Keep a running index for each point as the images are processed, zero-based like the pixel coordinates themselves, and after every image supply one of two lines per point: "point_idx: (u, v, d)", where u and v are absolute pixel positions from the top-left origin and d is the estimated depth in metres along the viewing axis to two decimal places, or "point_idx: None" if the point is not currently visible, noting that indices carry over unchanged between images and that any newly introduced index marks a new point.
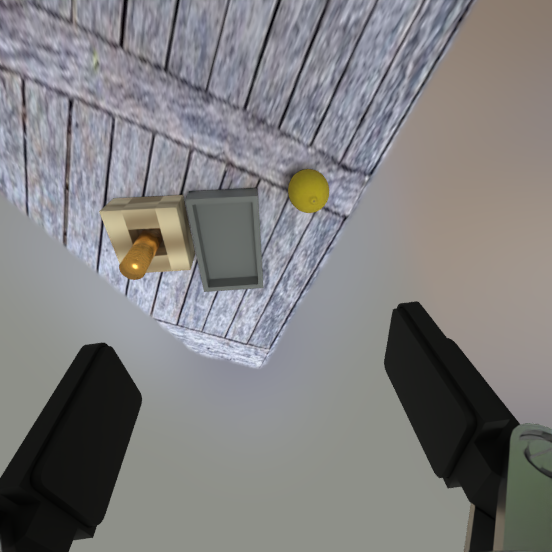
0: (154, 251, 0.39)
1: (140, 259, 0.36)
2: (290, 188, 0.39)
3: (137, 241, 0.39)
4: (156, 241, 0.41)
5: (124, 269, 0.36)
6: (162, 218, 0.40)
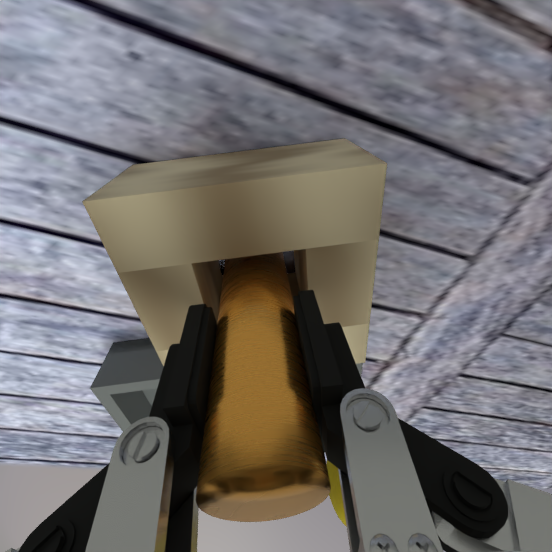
0: None
1: None
2: None
3: (296, 325, 0.10)
4: None
5: (263, 479, 0.06)
6: None
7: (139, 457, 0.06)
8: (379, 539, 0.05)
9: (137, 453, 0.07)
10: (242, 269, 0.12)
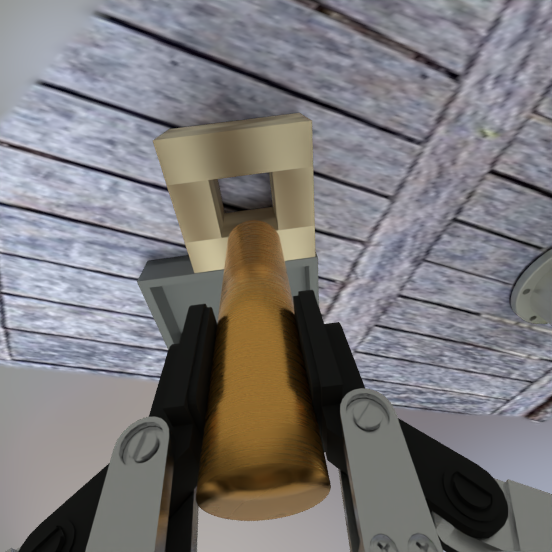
0: None
1: None
2: None
3: (296, 325, 0.10)
4: None
5: (263, 478, 0.06)
6: (296, 234, 0.23)
7: (139, 457, 0.06)
8: (379, 539, 0.05)
9: (137, 453, 0.07)
10: (242, 269, 0.12)
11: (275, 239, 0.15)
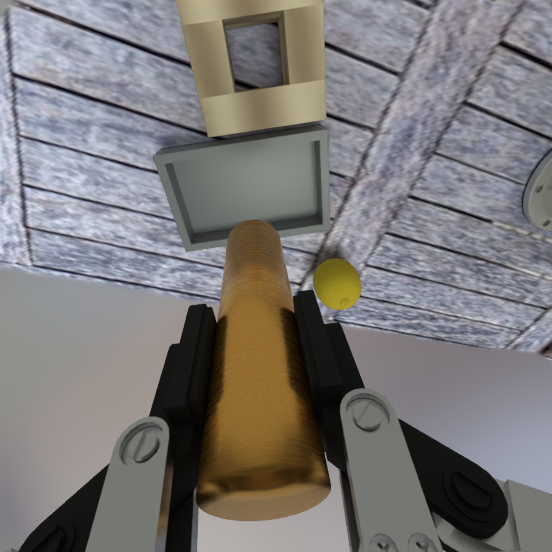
0: None
1: None
2: (344, 267, 0.33)
3: (296, 324, 0.10)
4: None
5: (263, 478, 0.06)
6: (307, 90, 0.23)
7: (139, 457, 0.06)
8: (379, 539, 0.05)
9: (137, 453, 0.07)
10: (242, 268, 0.12)
11: (275, 238, 0.15)
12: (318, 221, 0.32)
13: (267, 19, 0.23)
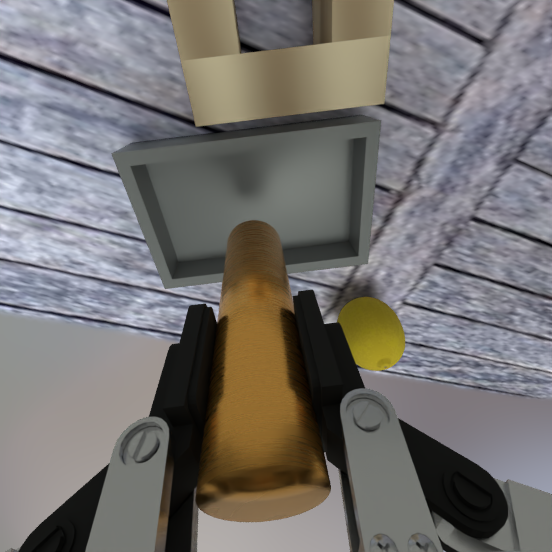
0: None
1: None
2: (383, 314, 0.24)
3: (296, 325, 0.10)
4: None
5: (263, 479, 0.06)
6: (358, 54, 0.14)
7: (139, 457, 0.06)
8: (379, 539, 0.05)
9: (137, 453, 0.07)
10: (242, 269, 0.12)
11: (275, 239, 0.15)
12: (351, 251, 0.23)
13: None
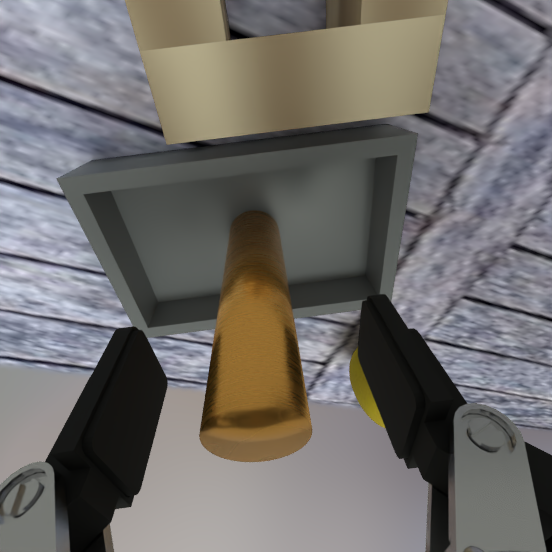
0: None
1: None
2: None
3: (289, 302, 0.11)
4: None
5: (255, 418, 0.07)
6: (398, 42, 0.10)
7: (20, 510, 0.06)
8: None
9: (17, 509, 0.06)
10: (242, 253, 0.13)
11: (274, 228, 0.16)
12: (369, 290, 0.19)
13: None
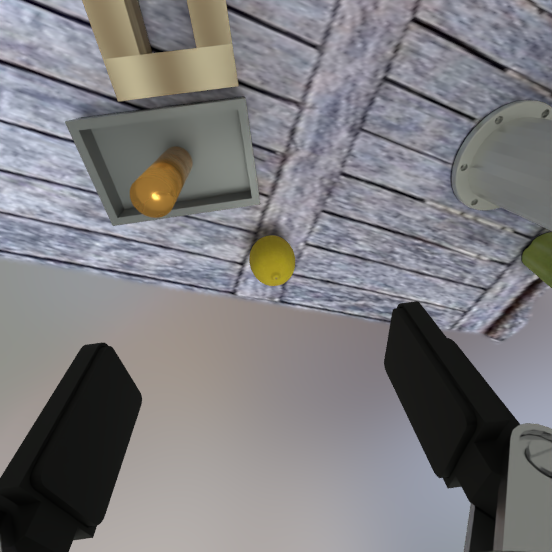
0: None
1: None
2: (276, 243, 0.33)
3: (180, 172, 0.25)
4: None
5: (149, 185, 0.20)
6: (214, 55, 0.23)
7: None
8: None
9: None
10: (161, 156, 0.26)
11: (185, 153, 0.29)
12: (248, 196, 0.32)
13: None
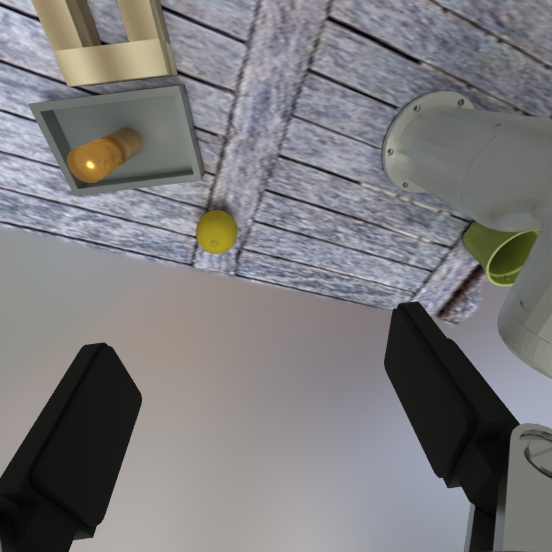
0: None
1: (104, 175, 0.27)
2: (217, 215, 0.38)
3: (119, 148, 0.29)
4: None
5: (82, 155, 0.25)
6: (145, 48, 0.28)
7: None
8: None
9: None
10: (107, 135, 0.31)
11: (133, 134, 0.34)
12: (192, 172, 0.37)
13: None
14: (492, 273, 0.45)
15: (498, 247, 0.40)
